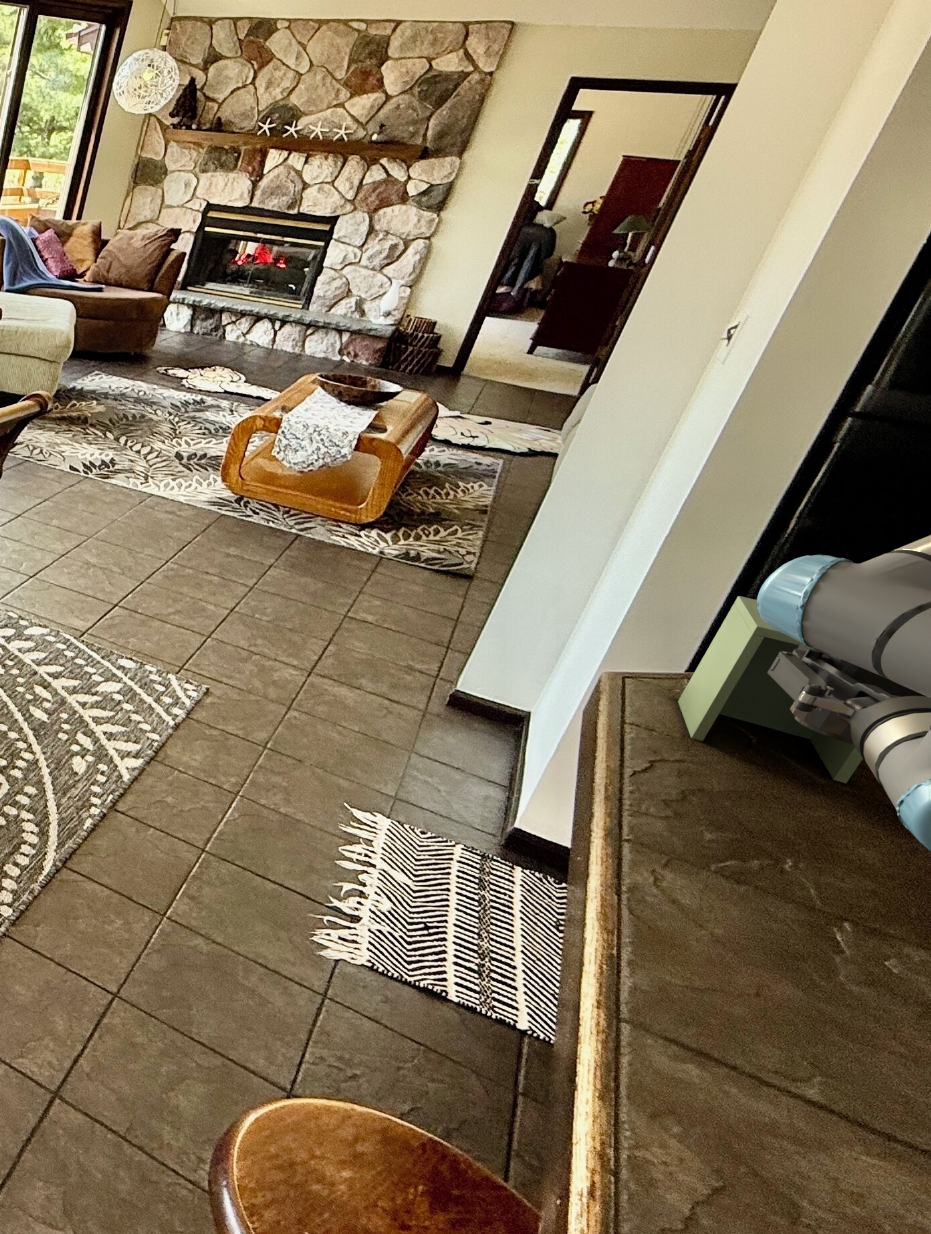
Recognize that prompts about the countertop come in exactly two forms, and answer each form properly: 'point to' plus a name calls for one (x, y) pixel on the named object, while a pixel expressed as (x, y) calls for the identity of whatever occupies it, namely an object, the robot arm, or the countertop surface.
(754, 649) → the u-shaped block
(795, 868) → the countertop surface
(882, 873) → the countertop surface
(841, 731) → the black cylinder
